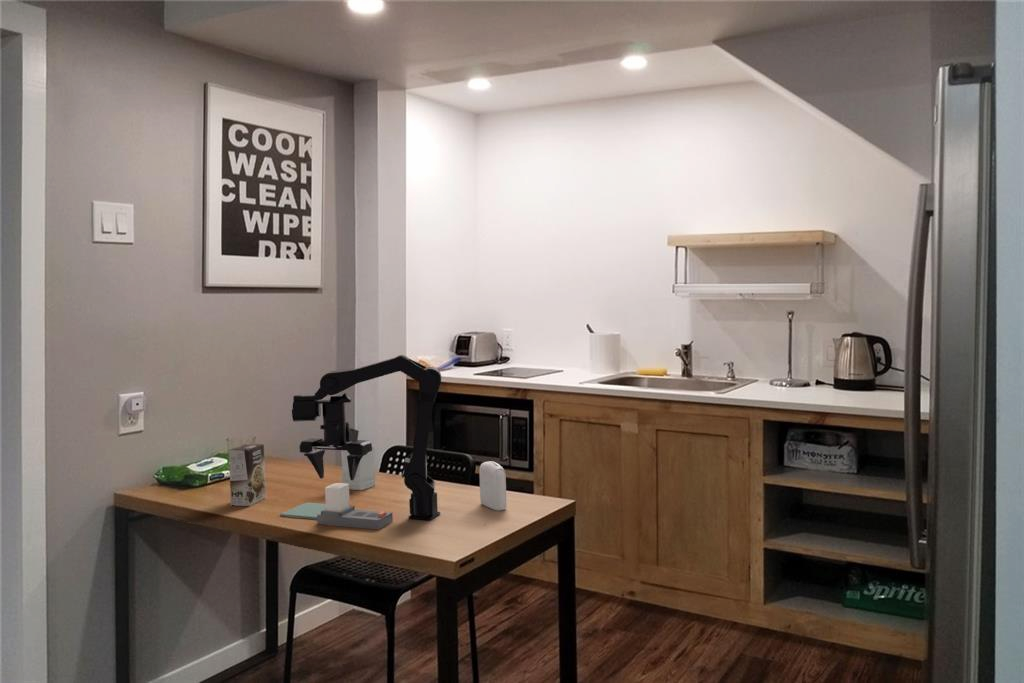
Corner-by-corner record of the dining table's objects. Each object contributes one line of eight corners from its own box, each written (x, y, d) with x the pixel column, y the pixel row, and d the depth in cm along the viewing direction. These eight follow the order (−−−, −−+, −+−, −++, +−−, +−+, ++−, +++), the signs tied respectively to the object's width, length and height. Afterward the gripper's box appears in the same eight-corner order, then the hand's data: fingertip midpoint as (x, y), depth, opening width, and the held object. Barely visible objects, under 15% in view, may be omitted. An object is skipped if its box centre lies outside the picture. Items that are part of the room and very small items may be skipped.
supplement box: (376, 485, 248) (375, 445, 247) (360, 491, 241) (358, 449, 241) (358, 483, 251) (356, 443, 251) (341, 488, 245) (340, 447, 244)
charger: (349, 510, 211) (348, 483, 211) (339, 515, 207) (338, 488, 206) (336, 509, 213) (335, 482, 212) (326, 514, 208) (325, 487, 207)
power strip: (392, 521, 208) (392, 508, 208) (378, 529, 202) (378, 516, 201) (332, 516, 214) (332, 503, 214) (317, 523, 208) (316, 510, 208)
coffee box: (251, 506, 226) (248, 450, 225) (230, 506, 228) (227, 449, 227) (267, 498, 235) (264, 443, 234) (247, 497, 237) (244, 443, 236)
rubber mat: (343, 507, 223) (343, 505, 223) (318, 519, 212) (318, 517, 212) (306, 504, 227) (306, 502, 227) (280, 516, 216) (280, 513, 216)
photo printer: (478, 503, 224) (477, 459, 223) (492, 501, 226) (491, 457, 225) (494, 512, 215) (493, 466, 214) (508, 509, 217) (507, 464, 216)
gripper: (381, 415, 213) (383, 473, 214) (320, 414, 220) (323, 470, 221) (359, 422, 203) (362, 483, 204) (296, 420, 209) (299, 480, 210)
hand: (337, 479), depth 210 cm, fingers open, 9 cm apart
